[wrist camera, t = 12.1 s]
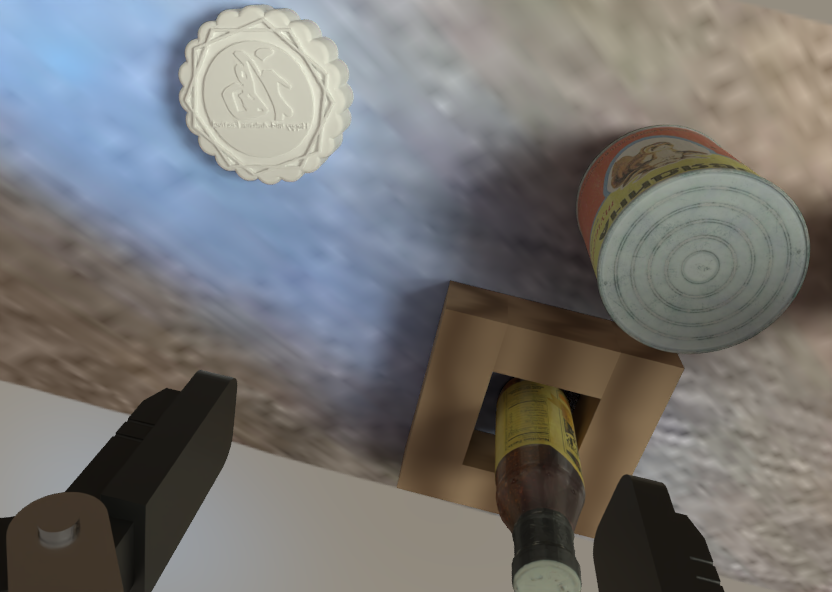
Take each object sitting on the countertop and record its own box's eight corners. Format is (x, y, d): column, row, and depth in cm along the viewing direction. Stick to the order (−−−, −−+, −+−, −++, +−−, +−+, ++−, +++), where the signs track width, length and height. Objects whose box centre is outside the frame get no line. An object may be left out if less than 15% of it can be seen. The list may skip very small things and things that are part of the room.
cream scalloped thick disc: (350, 4, 43) (338, 5, 40) (358, 176, 48) (348, 189, 45) (183, 4, 45) (158, 5, 41) (208, 172, 50) (188, 185, 47)
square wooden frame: (668, 335, 51) (684, 368, 46) (592, 498, 59) (600, 539, 54) (450, 280, 51) (445, 308, 47) (404, 450, 59) (396, 487, 55)
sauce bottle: (561, 432, 56) (589, 638, 38) (491, 423, 57) (486, 622, 39) (575, 370, 53) (612, 562, 35) (501, 361, 54) (501, 545, 36)
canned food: (711, 96, 43) (780, 132, 32) (756, 239, 47) (831, 314, 36) (552, 166, 46) (567, 220, 35) (606, 294, 50) (635, 378, 39)
